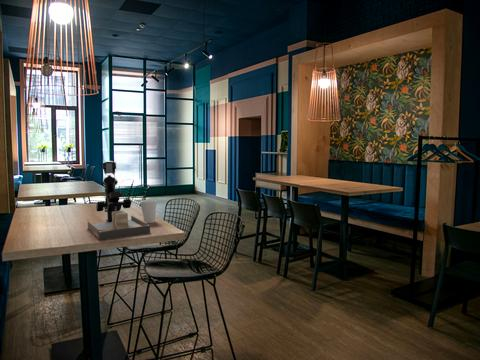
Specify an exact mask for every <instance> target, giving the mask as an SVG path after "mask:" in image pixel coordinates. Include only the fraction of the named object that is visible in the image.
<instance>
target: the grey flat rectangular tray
mask: <svg viewBox="0 0 480 360" xmlns="http://www.w3.org/2000/svg"><path fill="white" fill-rule="evenodd" d="M87 229H88V230H89V231H90V232H91V233H92V234H93V235H94V236H95V237H96V238H97V239H98V240H99V241H104V240H110V239H117V238H118V239H119V238H124V237H132V236H137V235H143V234H144V235H145V234H150V233H151V225H150V224H149V223H146V222H144V220H142V219H140V218H138V217H137V216H135V215H130V219H128V228H125V229H117V230H115V229H114V228H113V225H112V222H108V221H107V222H101V223H95V224H94V223H93V222H92V221H91V220H87Z"/></svg>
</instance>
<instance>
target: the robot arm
mask: <svg viewBox="0 0 480 360" xmlns="http://www.w3.org/2000/svg"><path fill="white" fill-rule="evenodd" d="M101 165H102V166H101V167H102V170H103V173H104V176H103V179H102V185H103V186H104V193H105V199H104V200H103V201H97V202H96V205H95V208H96V209H95V210H96V212H103V211H104V213H106V216H107V217H106V219H105V220H106V222H107V223H108V222H112V212H113V211H122V210H121V209H122V208H123V209H130V208H131V206H132V199H131V198H125V199H124V198H123V200H122V201H120V197H123V196H124V195H123V191H122V189H121V190H117V191H116V186H117V185H118V184H119V183H118V180H117V178H116V175H115V173H116V170H117V162H116V161H113V160H105V161H104V162H102V164H101Z"/></svg>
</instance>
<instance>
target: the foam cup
mask: <svg viewBox="0 0 480 360" xmlns="http://www.w3.org/2000/svg"><path fill="white" fill-rule="evenodd" d="M157 203H158V201H157V199H143V200H140V207H141V211H142V212H141V213H142V216H143V221H144V222H146V223H148V224H151V223H156V222H155V221H156V212H157V210H156V209H157Z"/></svg>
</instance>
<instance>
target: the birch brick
mask: <svg viewBox="0 0 480 360" xmlns="http://www.w3.org/2000/svg"><path fill="white" fill-rule="evenodd" d="M128 213H129V212H127V211H125V210H120V211H113V212H112V225H113V228H114V229H115V230H117V229H125V228H128V220H129V214H128Z"/></svg>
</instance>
